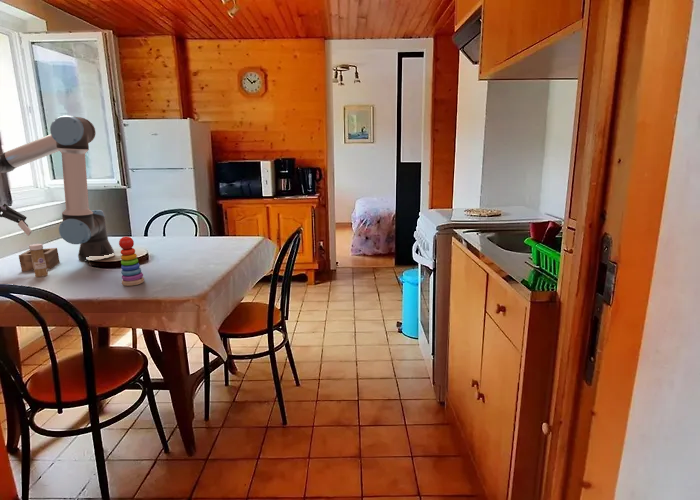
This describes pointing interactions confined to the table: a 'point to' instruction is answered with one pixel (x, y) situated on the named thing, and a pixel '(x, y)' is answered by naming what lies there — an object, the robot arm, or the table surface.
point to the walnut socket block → (49, 255)
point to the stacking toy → (130, 263)
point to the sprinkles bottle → (38, 260)
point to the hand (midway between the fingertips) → (14, 236)
